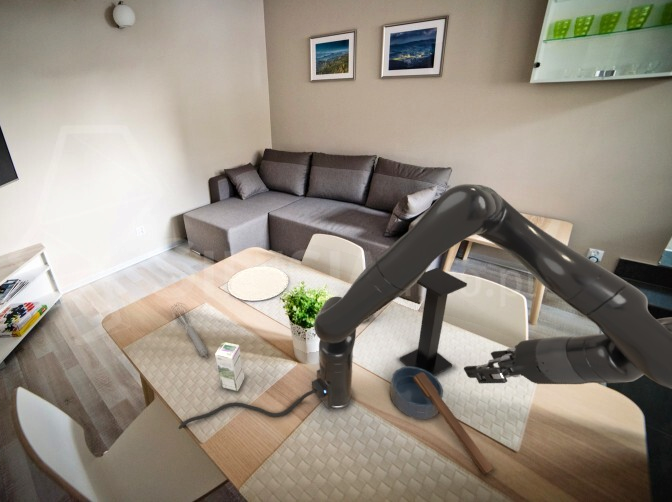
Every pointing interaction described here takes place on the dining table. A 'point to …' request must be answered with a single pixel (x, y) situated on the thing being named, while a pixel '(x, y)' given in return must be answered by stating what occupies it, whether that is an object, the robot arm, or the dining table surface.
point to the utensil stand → (433, 321)
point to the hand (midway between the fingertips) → (480, 364)
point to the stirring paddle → (452, 421)
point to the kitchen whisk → (193, 335)
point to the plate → (258, 283)
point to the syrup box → (230, 366)
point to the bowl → (413, 393)
